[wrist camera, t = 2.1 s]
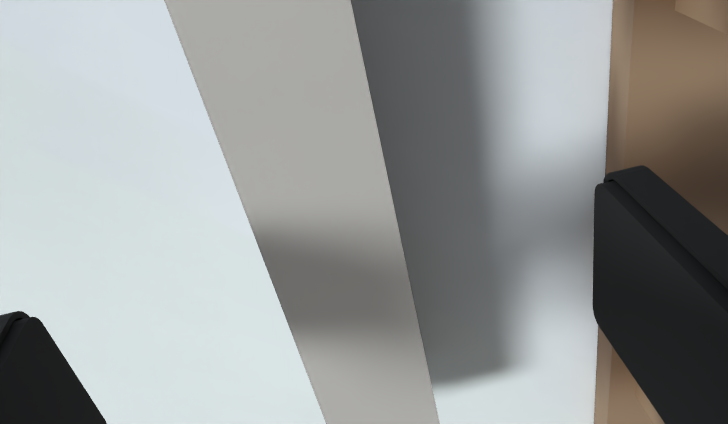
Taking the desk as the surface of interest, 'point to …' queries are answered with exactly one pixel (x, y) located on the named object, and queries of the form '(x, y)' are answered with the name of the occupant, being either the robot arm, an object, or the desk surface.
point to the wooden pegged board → (665, 136)
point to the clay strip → (315, 194)
